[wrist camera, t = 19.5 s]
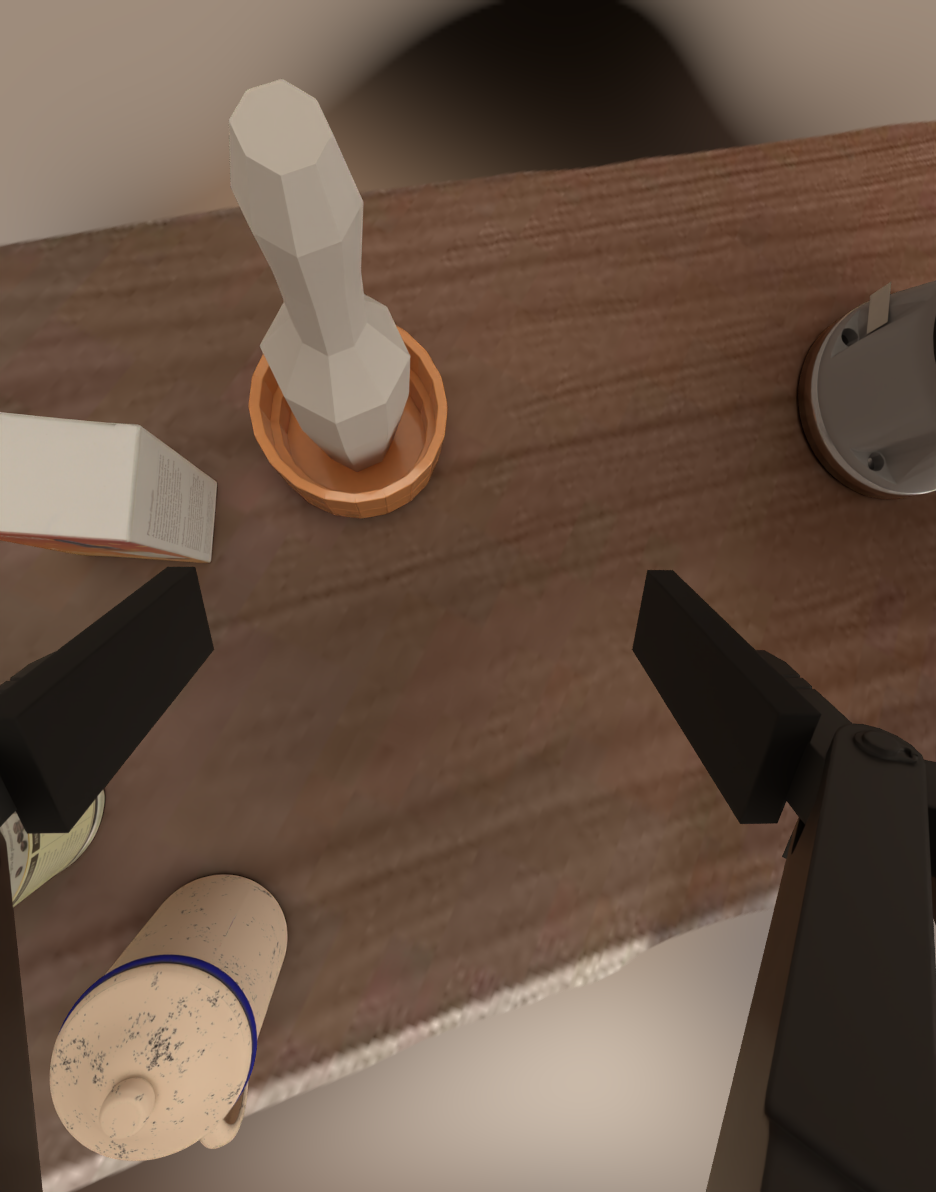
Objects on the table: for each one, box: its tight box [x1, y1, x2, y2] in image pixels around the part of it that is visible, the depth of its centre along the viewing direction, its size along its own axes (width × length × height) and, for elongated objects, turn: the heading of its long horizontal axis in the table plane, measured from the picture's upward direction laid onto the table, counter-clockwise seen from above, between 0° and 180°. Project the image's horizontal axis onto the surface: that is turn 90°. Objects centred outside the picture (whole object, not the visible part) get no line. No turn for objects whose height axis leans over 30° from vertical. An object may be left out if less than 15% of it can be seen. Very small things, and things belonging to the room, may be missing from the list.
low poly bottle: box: [229, 79, 410, 472], centre depth 23 cm, size 6×6×22 cm
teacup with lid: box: [50, 874, 287, 1161], centre depth 27 cm, size 12×9×12 cm
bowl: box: [249, 326, 448, 518], centre depth 32 cm, size 11×11×6 cm
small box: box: [0, 412, 217, 563], centre depth 28 cm, size 8×6×10 cm
